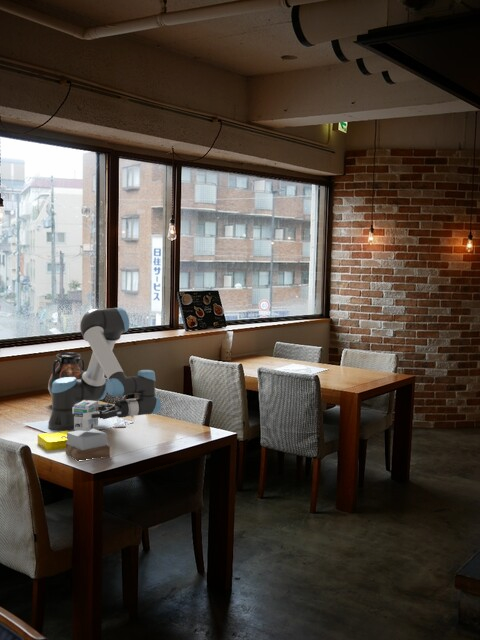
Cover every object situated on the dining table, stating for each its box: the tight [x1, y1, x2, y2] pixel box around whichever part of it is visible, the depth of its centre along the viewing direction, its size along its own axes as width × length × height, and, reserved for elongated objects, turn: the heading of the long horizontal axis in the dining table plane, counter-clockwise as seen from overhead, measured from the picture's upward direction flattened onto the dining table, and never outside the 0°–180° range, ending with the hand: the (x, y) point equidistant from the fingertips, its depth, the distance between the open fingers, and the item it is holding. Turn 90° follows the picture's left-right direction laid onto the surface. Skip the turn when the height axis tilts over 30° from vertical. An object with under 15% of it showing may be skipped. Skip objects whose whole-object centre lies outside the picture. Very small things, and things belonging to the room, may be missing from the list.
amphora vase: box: [47, 352, 85, 397], centre depth 396 cm, size 22×22×28 cm
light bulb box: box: [73, 400, 99, 431], centre depth 303 cm, size 11×7×11 cm, turn 169°
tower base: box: [65, 443, 111, 462], centre depth 305 cm, size 14×14×5 cm
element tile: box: [37, 430, 71, 452], centre depth 319 cm, size 15×15×5 cm
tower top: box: [67, 428, 108, 450], centre depth 304 cm, size 12×12×5 cm
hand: (77, 413), depth 301 cm, fingers closed on light bulb box, 12 cm apart
